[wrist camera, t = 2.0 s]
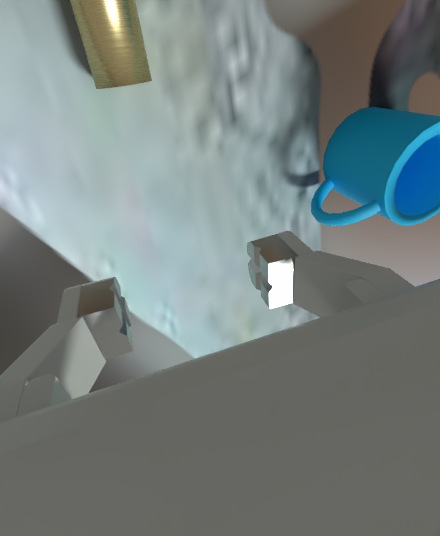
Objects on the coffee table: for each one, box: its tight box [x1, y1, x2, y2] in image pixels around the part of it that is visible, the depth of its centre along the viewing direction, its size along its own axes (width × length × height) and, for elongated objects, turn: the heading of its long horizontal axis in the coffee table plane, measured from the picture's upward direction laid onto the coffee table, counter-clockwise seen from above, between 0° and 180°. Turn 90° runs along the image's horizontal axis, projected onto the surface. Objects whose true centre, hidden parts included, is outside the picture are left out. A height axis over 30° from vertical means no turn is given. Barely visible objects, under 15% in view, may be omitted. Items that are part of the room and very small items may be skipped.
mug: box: [311, 107, 440, 226], centre depth 27 cm, size 12×8×8 cm
